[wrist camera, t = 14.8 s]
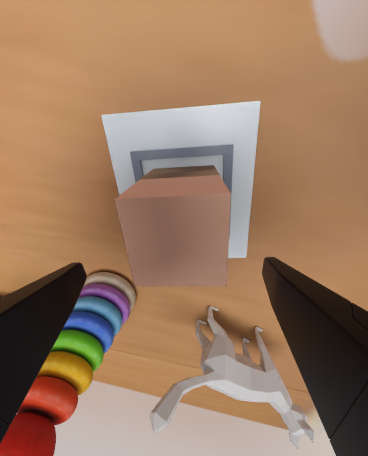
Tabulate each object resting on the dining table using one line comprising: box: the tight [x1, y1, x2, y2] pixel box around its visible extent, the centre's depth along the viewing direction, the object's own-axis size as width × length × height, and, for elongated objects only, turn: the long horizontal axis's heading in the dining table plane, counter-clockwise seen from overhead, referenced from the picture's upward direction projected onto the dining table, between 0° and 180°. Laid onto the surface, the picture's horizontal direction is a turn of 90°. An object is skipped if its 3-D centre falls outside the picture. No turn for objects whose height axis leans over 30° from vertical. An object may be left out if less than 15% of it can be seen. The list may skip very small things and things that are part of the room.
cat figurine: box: [150, 305, 313, 449], centre depth 23 cm, size 4×20×14 cm, turn 61°
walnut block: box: [140, 165, 220, 179], centre depth 18 cm, size 6×6×5 cm
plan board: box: [101, 101, 260, 258], centre depth 20 cm, size 14×16×2 cm
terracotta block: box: [115, 175, 231, 286], centre depth 13 cm, size 6×6×5 cm
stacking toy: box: [0, 272, 136, 456], centre depth 19 cm, size 8×8×19 cm
